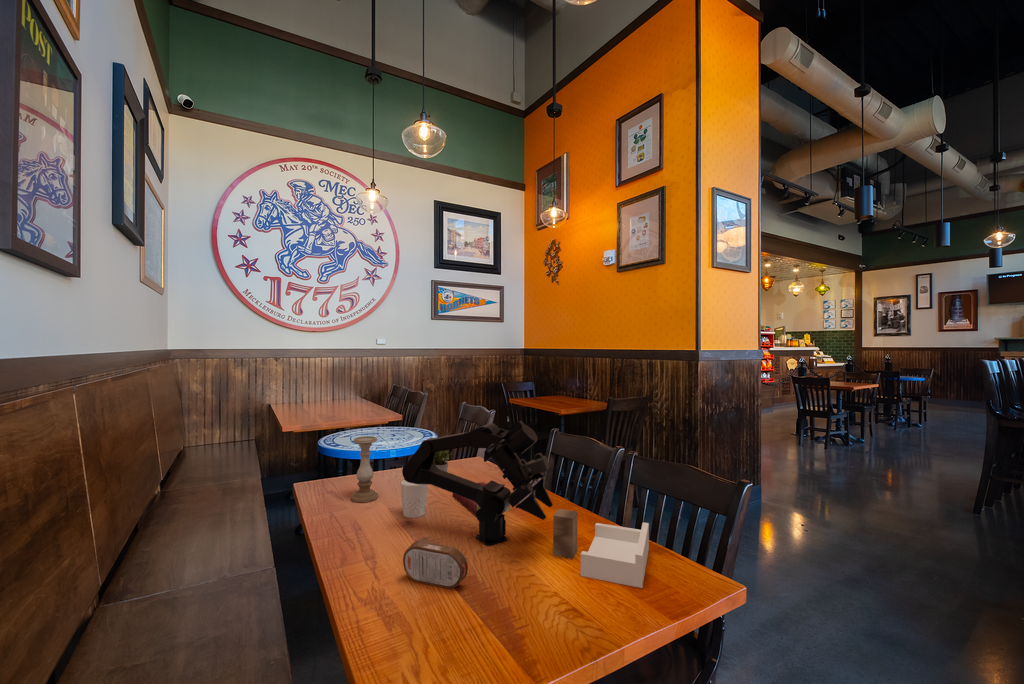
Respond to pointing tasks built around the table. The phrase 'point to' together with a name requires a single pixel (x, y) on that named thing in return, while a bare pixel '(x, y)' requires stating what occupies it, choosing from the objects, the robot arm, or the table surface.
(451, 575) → the tin
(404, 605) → the table surface
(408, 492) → the white cup
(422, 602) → the table surface
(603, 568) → the toy armchair
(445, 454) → the house plant
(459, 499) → the hardcover book
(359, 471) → the candle holder
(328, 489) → the table surface
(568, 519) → the walnut block
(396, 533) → the table surface
